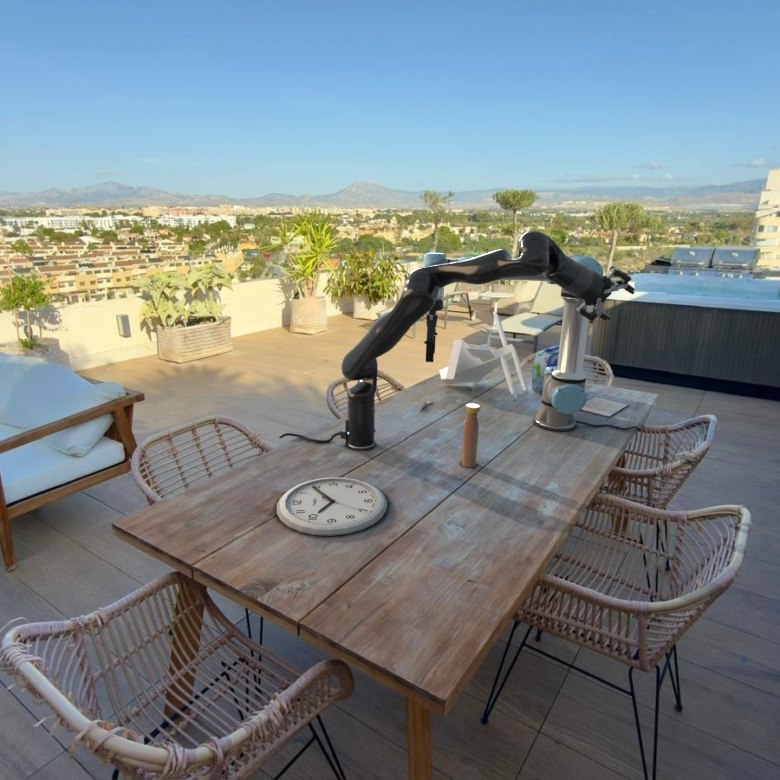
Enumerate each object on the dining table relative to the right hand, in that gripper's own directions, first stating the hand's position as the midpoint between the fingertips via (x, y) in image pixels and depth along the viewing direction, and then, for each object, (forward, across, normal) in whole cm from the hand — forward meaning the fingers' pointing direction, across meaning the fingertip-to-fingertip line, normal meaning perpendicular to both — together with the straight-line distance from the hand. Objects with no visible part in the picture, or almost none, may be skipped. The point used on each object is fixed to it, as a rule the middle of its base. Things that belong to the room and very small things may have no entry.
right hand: (430, 357), depth 190 cm
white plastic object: (+28, -50, +22) cm, 61 cm away
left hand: (-26, +40, +51) cm, 70 cm away
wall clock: (+28, +61, -23) cm, 71 cm away
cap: (+8, +29, +15) cm, 33 cm away
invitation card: (+28, -38, +73) cm, 87 cm away
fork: (+28, -26, -2) cm, 38 cm away
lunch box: (+28, -59, +56) cm, 86 cm away
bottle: (+28, +29, +15) cm, 43 cm away
